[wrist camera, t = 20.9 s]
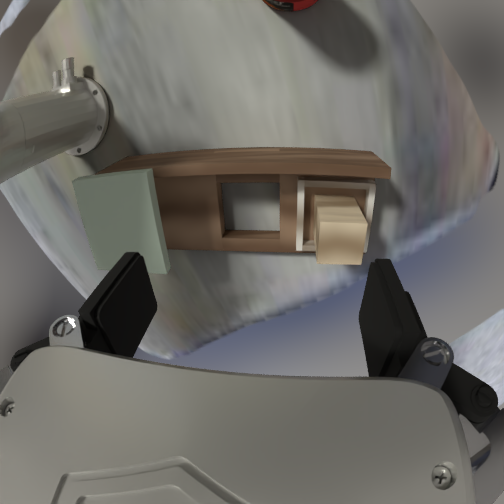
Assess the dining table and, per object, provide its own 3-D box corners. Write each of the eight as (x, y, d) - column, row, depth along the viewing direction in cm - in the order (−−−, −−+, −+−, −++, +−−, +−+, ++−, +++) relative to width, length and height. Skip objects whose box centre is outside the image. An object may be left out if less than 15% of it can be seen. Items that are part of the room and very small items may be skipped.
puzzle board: (126, 157, 38) (94, 174, 31) (371, 151, 34) (391, 168, 27) (143, 240, 46) (119, 269, 39) (361, 245, 41) (373, 278, 34)
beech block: (314, 194, 36) (320, 221, 29) (353, 196, 35) (367, 223, 28) (313, 230, 38) (317, 263, 32) (349, 231, 38) (361, 264, 31)
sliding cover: (79, 177, 32) (72, 181, 30) (152, 168, 30) (146, 172, 29) (103, 263, 38) (97, 269, 37) (170, 267, 37) (166, 274, 36)
